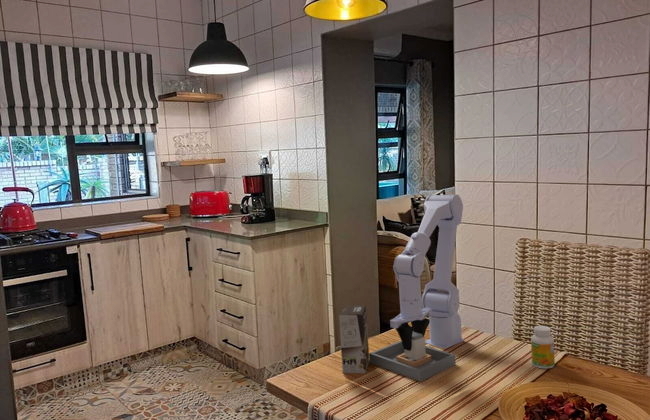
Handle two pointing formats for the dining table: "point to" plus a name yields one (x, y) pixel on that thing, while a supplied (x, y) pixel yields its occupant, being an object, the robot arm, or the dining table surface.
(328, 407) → the dining table surface
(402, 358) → the inlet socket
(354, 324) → the coffee box
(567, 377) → the dining table surface
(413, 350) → the plug block
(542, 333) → the supplement bottle
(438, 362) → the walled box
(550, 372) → the dining table surface
